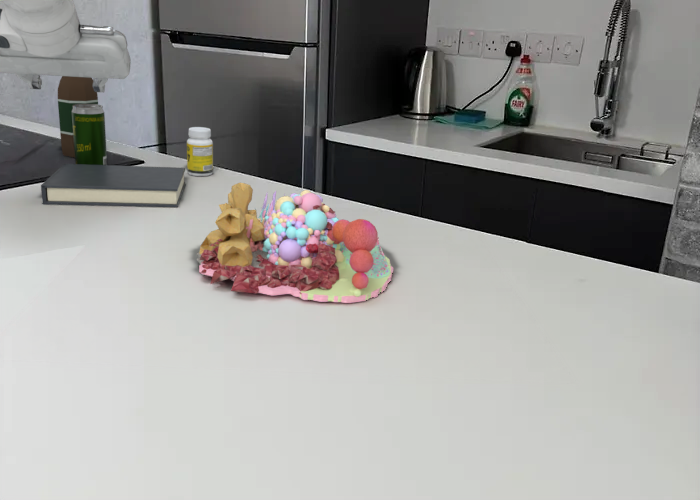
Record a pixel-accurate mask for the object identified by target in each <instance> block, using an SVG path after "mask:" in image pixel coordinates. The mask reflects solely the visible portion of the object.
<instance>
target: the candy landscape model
mask: <svg viewBox="0 0 700 500" xmlns="http://www.w3.org/2000/svg"><path fill="white" fill-rule="evenodd" d="M253 193H254V189H253V188H252V186H251V184H248V183H244V182H237V183H235V184H233V185H231V191H230V192H229V193H228V194H227V202H225V203H221V204H218V206H219V209H220V212H221V213H220V214H219V215H218V216H217V218H216V220H215V221H214V223H215V225H216V226H217V229H214V230H212V231H210V232H209V233H208V234H207V235H206V237H205V238H204V240H203V242H202V243H201V245H200V246H199V251H198V252H196V256H197V258H196V262H198V264H199V265H198V273H199V274H201V275H205V276H208V277H211V280H210V283H209V285H212V284H216V283H218V282H223V281H225V280H231V281H232V282H233V283H232V287H231V289H230V292H237V293H249V294H263V295H267V296H281V295H292V296H293V297H296V298H299V299H301V300H304V301H308V300H309V301H310V300H311V301H315V302H320V303H326V302H332V303H343V304H351V303H359V302H360V303H361V302H367V301H368V300H370V299H373V298H372V297H374V298H377V297H378V296H379V295H380V294H381V293H384V292H385V291H386V290H385V289H387V288H388V285H389V284H390V283H391V282H392V277H393V274H394V268H395V267H393V266H392V265H391V260H390V258H389V257H387V256H386V255H385V253H384V251H383V248H382V246H380V242H379V238H380V236H378V234H379V233H378V230H377V229H376V226H375V225H374V224H373V223H372V222H371V221H370V220H367V219H363V218H358V219H354V220H352V221H349V220H347V219H344V218H343V219H339V217H337V214H336V211H335V210H334V209H333V208H331V207H330V206H329V205H327V204H325V203H323V202H324V199H323V197H322V196H321V195H320V194H316V193H313V192H311V191H310V190H308V189H304V190H302V191H301V192H300V193H296V192H293V193H291V194H289V195H286V193H284V195H283V196H281V197H279V198H276V197H277V190H275V191H274V193H272V198H271V202H270V203H268V193H266V194H265V197H264V199H263V204H262V207H261V210H260V214H259V215H258V214H257V213H258V212H257V209H256V208H254V209H249V205H250V203H251V202H252V200H253ZM276 199H277V200H276ZM267 203H268V204H267ZM258 216H259V217H258ZM392 273H393V274H392ZM390 281H391V282H390ZM389 282H390V283H389ZM388 283H389V284H388ZM386 287H387V288H386ZM383 291H384V292H383ZM380 292H381V293H380ZM378 294H379V295H378ZM366 300H367V301H366Z"/></svg>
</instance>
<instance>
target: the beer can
mask: <svg viewBox="0 0 700 500" xmlns="http://www.w3.org/2000/svg"><path fill="white" fill-rule="evenodd" d="M72 124H73V138H74V152H75V158H74V162H75V163H74V164H85V165H108V153H107V137H106V135H107V134H106V118H105V111H104V109H103V105H102V104H99V103H98V104H75V105H73V109H72Z"/></svg>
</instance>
